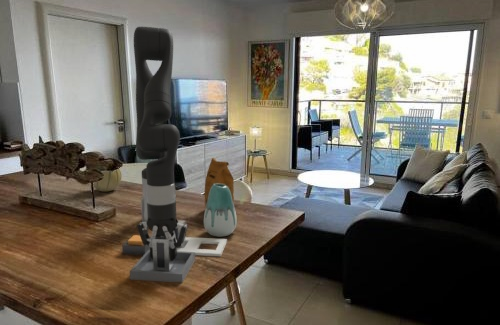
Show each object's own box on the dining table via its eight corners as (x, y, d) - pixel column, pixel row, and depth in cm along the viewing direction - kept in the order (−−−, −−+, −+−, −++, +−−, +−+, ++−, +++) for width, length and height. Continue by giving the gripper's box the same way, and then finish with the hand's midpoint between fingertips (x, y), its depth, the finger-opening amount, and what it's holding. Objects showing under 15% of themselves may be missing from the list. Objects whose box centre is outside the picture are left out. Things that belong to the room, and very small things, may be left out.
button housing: (123, 257, 111) (122, 245, 110) (132, 247, 118) (132, 236, 117) (145, 259, 110) (144, 246, 109) (153, 249, 117) (153, 237, 116)
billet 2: (168, 252, 115) (167, 225, 113) (172, 246, 119) (171, 220, 117) (181, 253, 114) (181, 225, 112) (186, 247, 119) (185, 220, 117)
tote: (130, 283, 96) (129, 271, 96) (149, 260, 109) (148, 249, 108) (182, 286, 95) (182, 274, 94) (195, 263, 108) (195, 252, 107)
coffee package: (221, 205, 161) (221, 156, 157) (236, 213, 151) (236, 160, 147) (201, 209, 156) (200, 158, 151) (215, 218, 145) (214, 163, 141)
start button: (128, 248, 112) (128, 240, 111) (134, 242, 116) (134, 235, 115) (142, 248, 111) (142, 241, 111) (148, 242, 115) (147, 235, 115)
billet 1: (153, 270, 100) (151, 239, 98) (159, 262, 104) (157, 232, 102) (169, 271, 99) (167, 240, 98) (174, 263, 104) (173, 233, 102)
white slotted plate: (155, 256, 112) (155, 250, 112) (167, 241, 123) (167, 236, 122) (220, 260, 110) (220, 253, 109) (227, 244, 121) (226, 239, 120)
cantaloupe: (92, 188, 188) (90, 159, 185) (122, 186, 192) (121, 157, 189) (89, 196, 174) (86, 165, 171) (122, 193, 178) (120, 163, 175)
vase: (241, 229, 134) (241, 181, 130) (229, 241, 123) (229, 190, 120) (212, 225, 138) (211, 178, 134) (198, 237, 127) (196, 186, 123)
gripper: (129, 202, 95) (133, 264, 99) (183, 205, 94) (185, 267, 97) (141, 194, 102) (144, 251, 106) (191, 196, 101) (192, 254, 104)
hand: (163, 258), depth 101 cm, fingers closed on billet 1, 4 cm apart
